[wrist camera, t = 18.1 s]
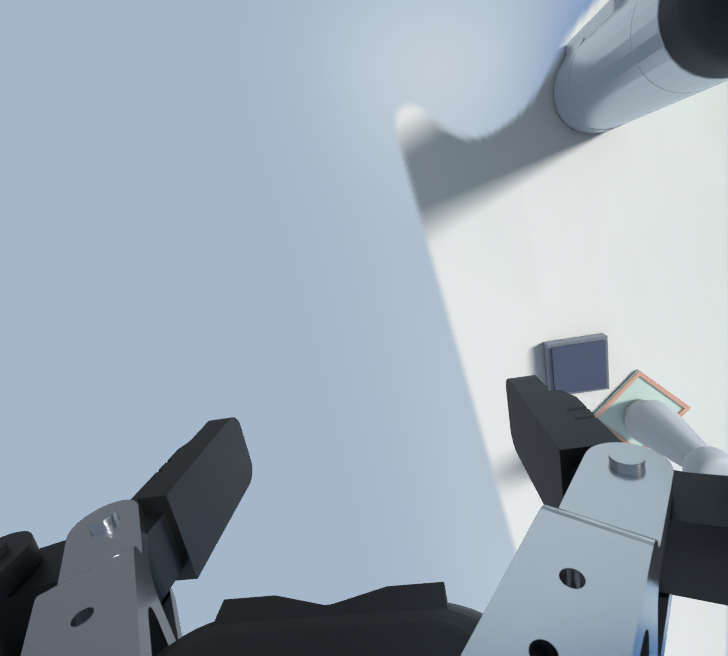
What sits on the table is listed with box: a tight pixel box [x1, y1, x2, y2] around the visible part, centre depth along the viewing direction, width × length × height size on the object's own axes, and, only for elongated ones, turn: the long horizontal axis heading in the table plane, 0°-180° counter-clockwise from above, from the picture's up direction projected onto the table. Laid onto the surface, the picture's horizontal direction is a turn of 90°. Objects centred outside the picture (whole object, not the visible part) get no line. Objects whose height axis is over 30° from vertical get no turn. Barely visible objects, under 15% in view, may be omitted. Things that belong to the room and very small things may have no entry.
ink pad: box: [544, 333, 609, 394], centre depth 49 cm, size 7×7×2 cm
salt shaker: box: [623, 399, 728, 476], centre depth 44 cm, size 6×6×13 cm
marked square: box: [594, 369, 691, 448], centre depth 50 cm, size 8×8×1 cm
